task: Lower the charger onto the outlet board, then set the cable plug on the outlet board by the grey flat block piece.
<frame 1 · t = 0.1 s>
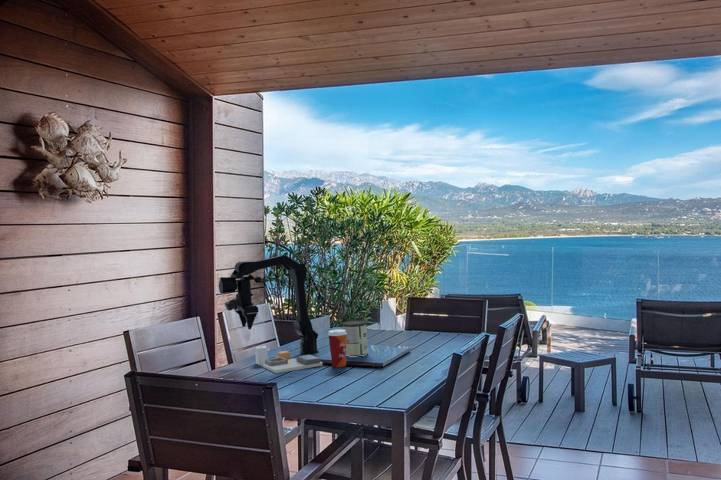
hand: (246, 328, 286), 14 cm above the table, tool pointing down, fingers open, 9 cm apart
grey flat block piece: (308, 362, 273), point 1 cm above the table, touching outlet board
outlet board: (291, 366, 273), on the table
cable plug: (284, 361, 283), on the table
charger: (262, 363, 281), on the table
paper cup: (339, 366, 269), on the table
coffee can: (356, 355, 288), on the table
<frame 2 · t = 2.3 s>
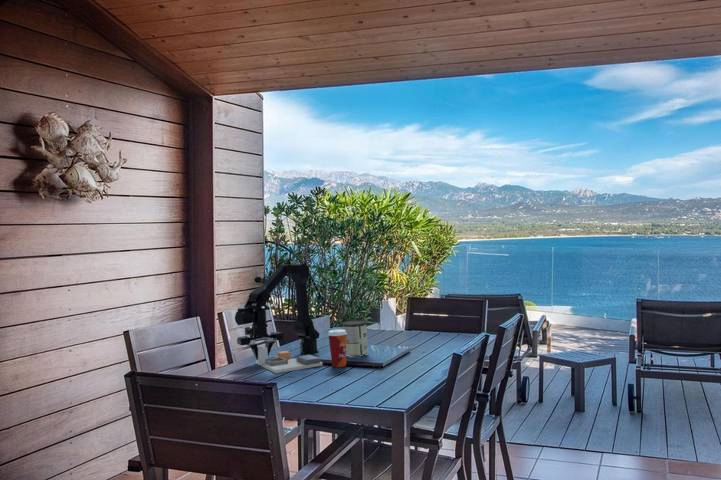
hand: (261, 359, 281), 2 cm above the table, tool pointing down, fingers closed on charger, 4 cm apart
charger: (262, 363, 281), on the table, touching gripper
everything else where it was.
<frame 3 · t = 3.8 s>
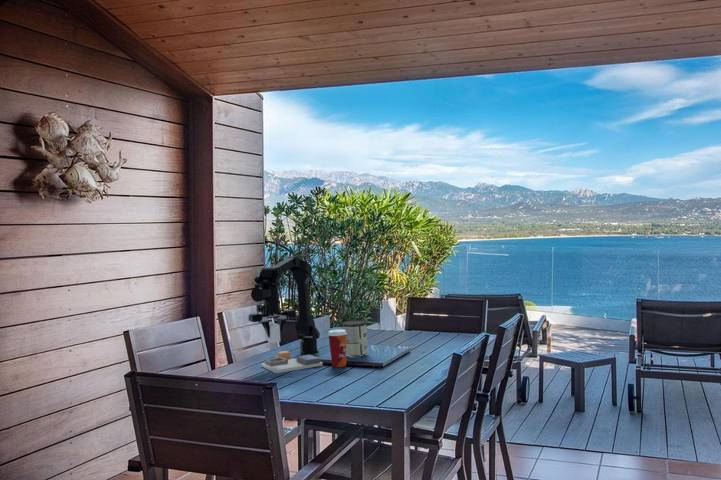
hand: (273, 336, 274), 12 cm above the table, tool pointing down, fingers closed on charger, 4 cm apart
charger: (274, 341, 274), point 10 cm above the table, touching gripper
everything else where it was.
when the fingers open (4 cm above the table, at t = 5.6 s): charger stays where it is, resting on outlet board.
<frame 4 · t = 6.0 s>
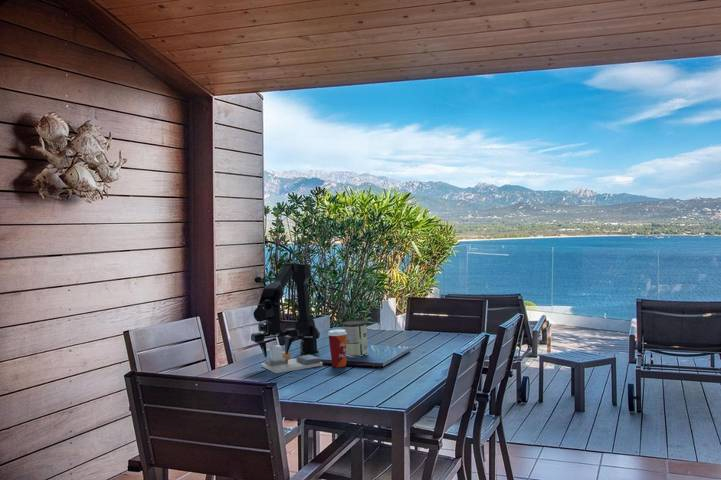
hand: (276, 356, 274), 4 cm above the table, tool pointing down, fingers open, 9 cm apart
charger: (276, 363, 274), point 1 cm above the table, touching outlet board
everything else where it was.
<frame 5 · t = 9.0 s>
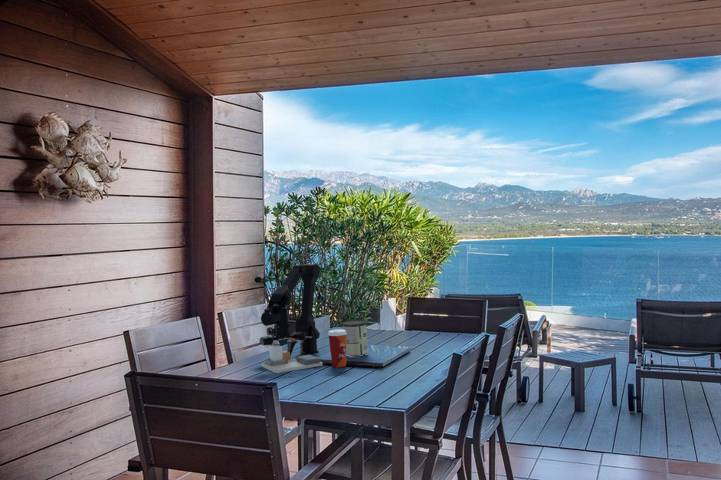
hand: (284, 358, 283), 1 cm above the table, tool pointing down, fingers closed on cable plug, 4 cm apart
cable plug: (284, 361, 283), on the table, touching gripper
everything else where it was.
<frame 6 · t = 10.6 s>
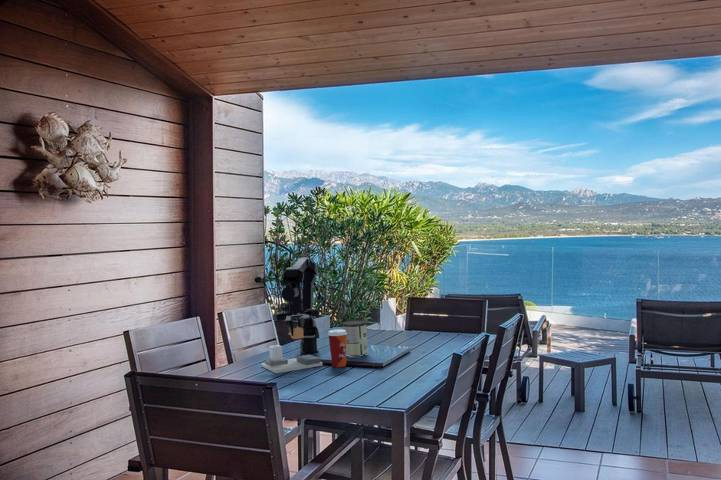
hand: (297, 335, 281), 11 cm above the table, tool pointing down, fingers closed on cable plug, 4 cm apart
cable plug: (297, 337, 281), point 10 cm above the table, touching gripper
everything else where it was.
when the fingers open (3 cm above the table, at t = 12.5 s): cable plug stays where it is, resting on outlet board.
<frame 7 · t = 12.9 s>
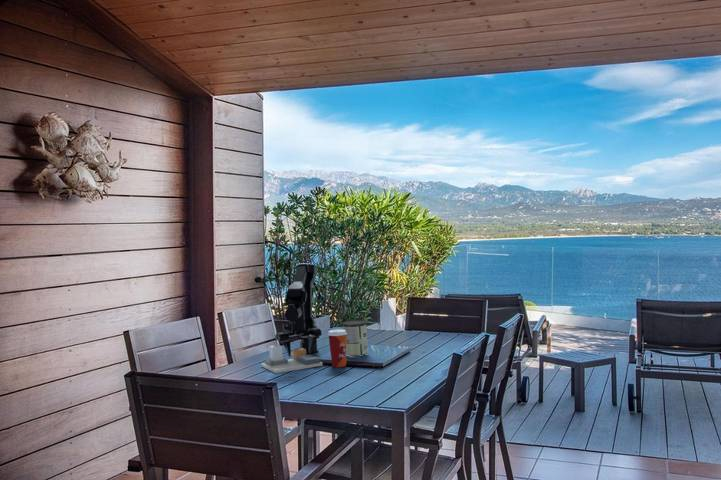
hand: (299, 354, 281), 3 cm above the table, tool pointing down, fingers open, 9 cm apart
cable plug: (300, 358, 281), point 1 cm above the table, touching outlet board
everything else where it was.
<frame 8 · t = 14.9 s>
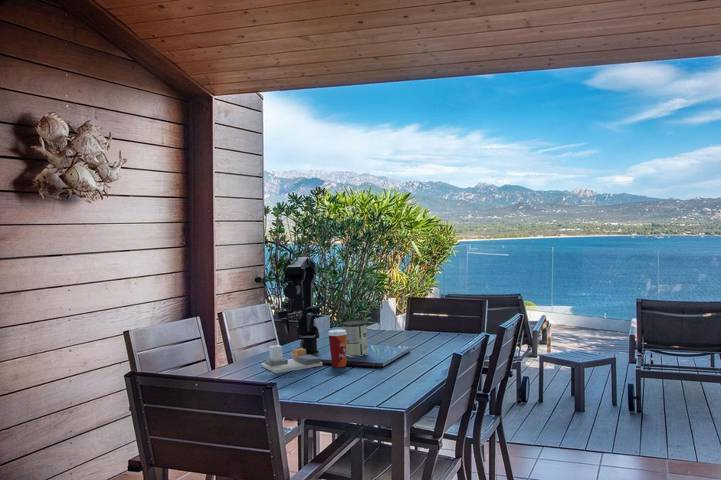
hand: (298, 333, 281), 12 cm above the table, tool pointing down, fingers open, 9 cm apart
nothing on the table moved.
at the end: charger 0.0 cm from the target spot, point 1.2 cm above the table; charger tilted 0°; cable plug inside the target area (0.2 cm from its centre), point 1.2 cm above the table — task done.
